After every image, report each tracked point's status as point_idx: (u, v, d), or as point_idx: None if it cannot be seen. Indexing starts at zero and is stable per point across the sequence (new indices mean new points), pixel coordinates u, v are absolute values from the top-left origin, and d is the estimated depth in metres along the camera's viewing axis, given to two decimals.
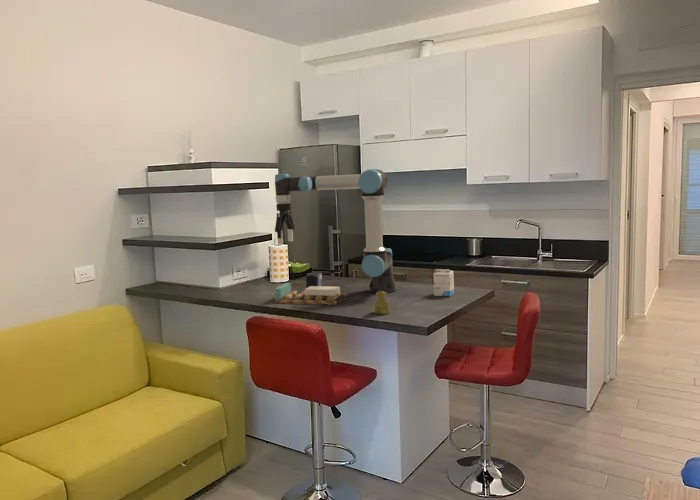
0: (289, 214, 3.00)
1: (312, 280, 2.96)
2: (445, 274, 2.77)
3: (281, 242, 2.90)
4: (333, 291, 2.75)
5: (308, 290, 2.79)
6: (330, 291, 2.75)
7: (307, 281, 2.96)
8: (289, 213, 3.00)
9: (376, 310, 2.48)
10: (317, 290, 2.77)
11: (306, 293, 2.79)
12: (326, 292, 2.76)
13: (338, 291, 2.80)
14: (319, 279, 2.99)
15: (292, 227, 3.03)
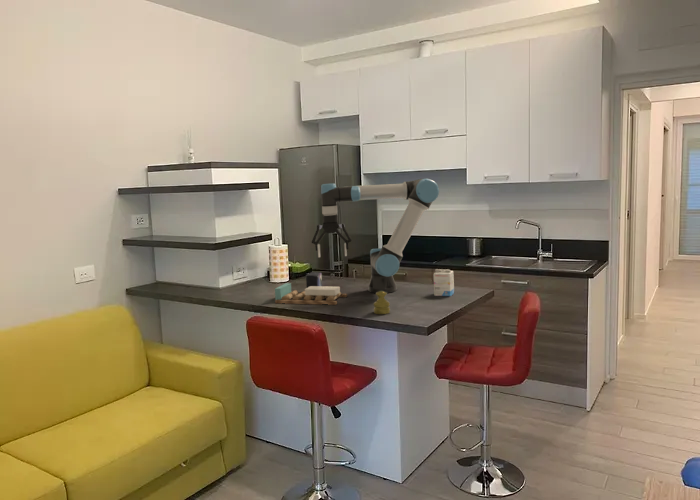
0: None
1: (312, 280, 2.96)
2: (445, 274, 2.77)
3: (318, 255, 2.80)
4: (333, 291, 2.75)
5: (308, 290, 2.79)
6: (330, 291, 2.75)
7: (307, 281, 2.96)
8: (341, 226, 2.77)
9: (376, 310, 2.48)
10: (317, 290, 2.77)
11: (306, 293, 2.79)
12: (326, 292, 2.76)
13: (338, 291, 2.80)
14: (319, 279, 2.99)
15: (346, 241, 2.77)
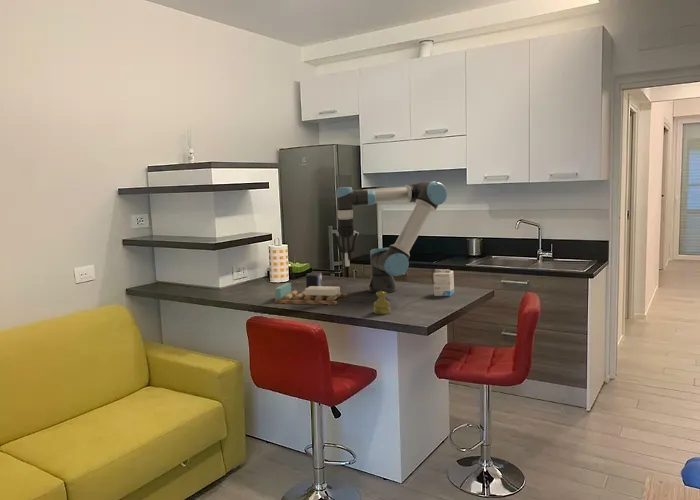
0: None
1: (312, 280, 2.96)
2: (445, 274, 2.77)
3: None
4: (333, 291, 2.75)
5: (308, 290, 2.79)
6: (330, 291, 2.75)
7: (307, 281, 2.96)
8: (355, 234, 2.71)
9: (376, 310, 2.48)
10: (317, 290, 2.77)
11: (306, 293, 2.79)
12: (326, 292, 2.76)
13: (338, 291, 2.80)
14: (319, 279, 2.99)
15: (348, 251, 2.73)
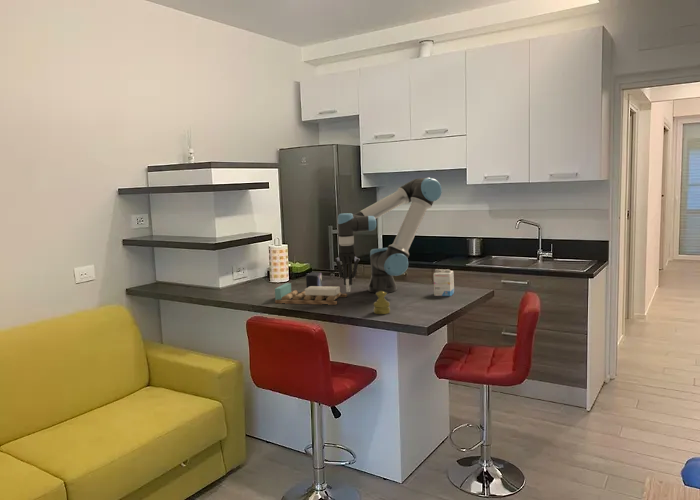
0: (354, 260, 2.73)
1: (312, 280, 2.96)
2: (445, 274, 2.77)
3: None
4: (333, 291, 2.75)
5: (308, 290, 2.79)
6: (330, 291, 2.75)
7: (307, 281, 2.96)
8: (356, 260, 2.73)
9: (376, 310, 2.48)
10: (317, 290, 2.77)
11: (306, 293, 2.79)
12: (326, 292, 2.76)
13: (338, 291, 2.80)
14: (319, 279, 2.99)
15: (349, 277, 2.74)
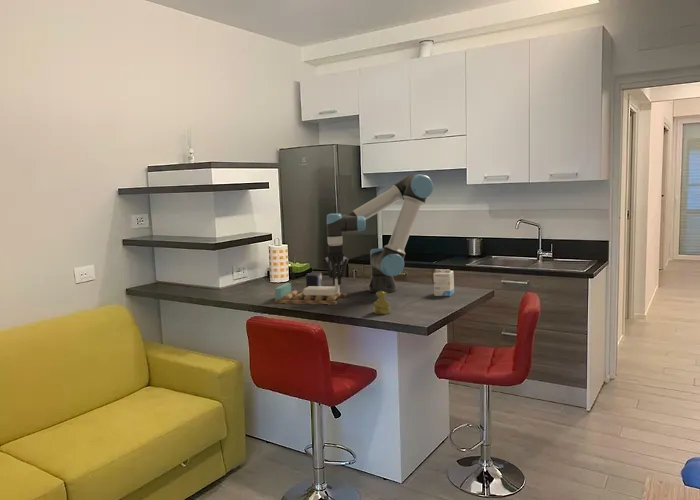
0: (343, 260, 2.74)
1: (312, 280, 2.96)
2: (445, 274, 2.77)
3: None
4: (332, 291, 2.75)
5: (307, 290, 2.79)
6: (329, 291, 2.76)
7: (307, 281, 2.96)
8: (345, 259, 2.74)
9: (376, 310, 2.48)
10: (316, 290, 2.77)
11: (305, 293, 2.79)
12: (325, 292, 2.76)
13: None
14: (319, 279, 2.99)
15: (338, 276, 2.76)
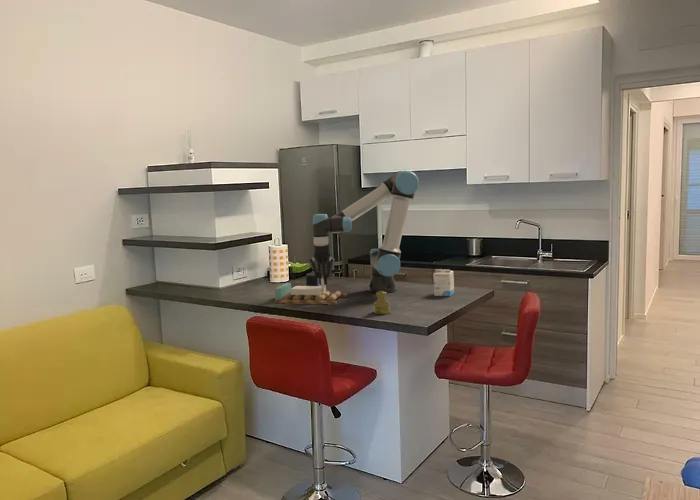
0: (329, 260, 2.77)
1: (312, 280, 2.96)
2: (445, 274, 2.77)
3: None
4: (318, 291, 2.77)
5: (293, 290, 2.81)
6: (315, 291, 2.78)
7: (307, 281, 2.96)
8: (330, 259, 2.76)
9: (376, 310, 2.48)
10: (302, 290, 2.80)
11: (291, 293, 2.82)
12: (311, 292, 2.78)
13: None
14: None
15: (324, 276, 2.78)
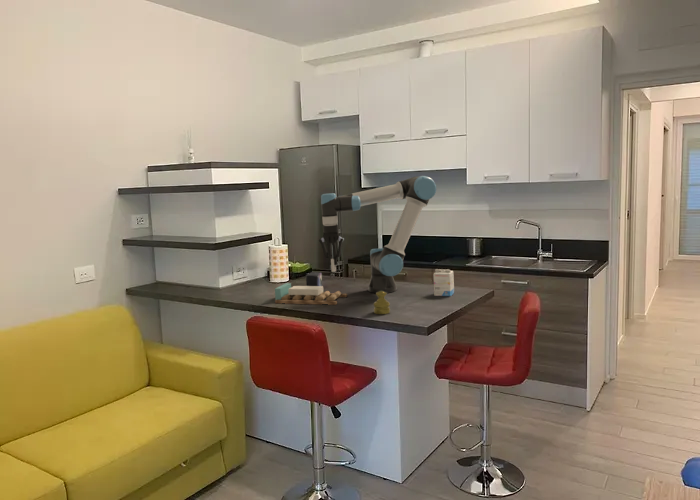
0: (339, 240, 2.74)
1: (312, 280, 2.96)
2: (445, 274, 2.77)
3: None
4: (316, 291, 2.78)
5: (292, 290, 2.81)
6: (313, 291, 2.78)
7: (307, 281, 2.96)
8: (340, 239, 2.74)
9: (376, 310, 2.48)
10: (300, 290, 2.80)
11: (290, 293, 2.82)
12: (309, 292, 2.79)
13: (321, 291, 2.83)
14: (319, 279, 2.99)
15: (334, 257, 2.75)
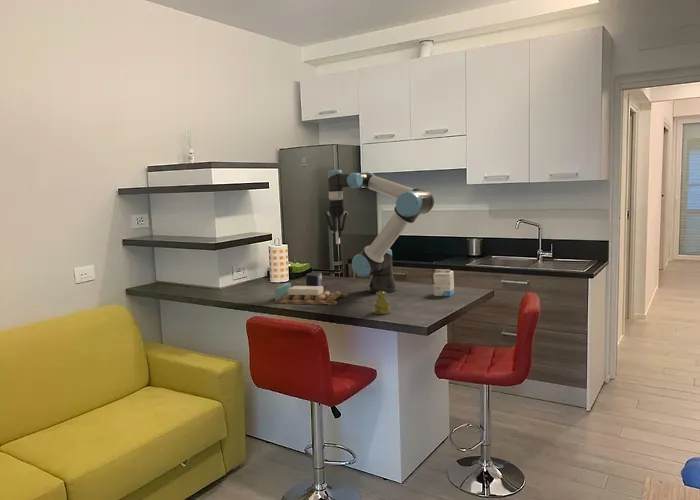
0: None
1: (312, 280, 2.96)
2: (445, 274, 2.77)
3: None
4: (316, 291, 2.78)
5: (292, 290, 2.81)
6: (313, 291, 2.78)
7: (307, 281, 2.96)
8: (345, 213, 2.92)
9: (376, 310, 2.48)
10: (300, 290, 2.80)
11: (290, 293, 2.82)
12: (309, 292, 2.79)
13: (321, 291, 2.83)
14: (319, 279, 2.99)
15: (339, 229, 2.94)
